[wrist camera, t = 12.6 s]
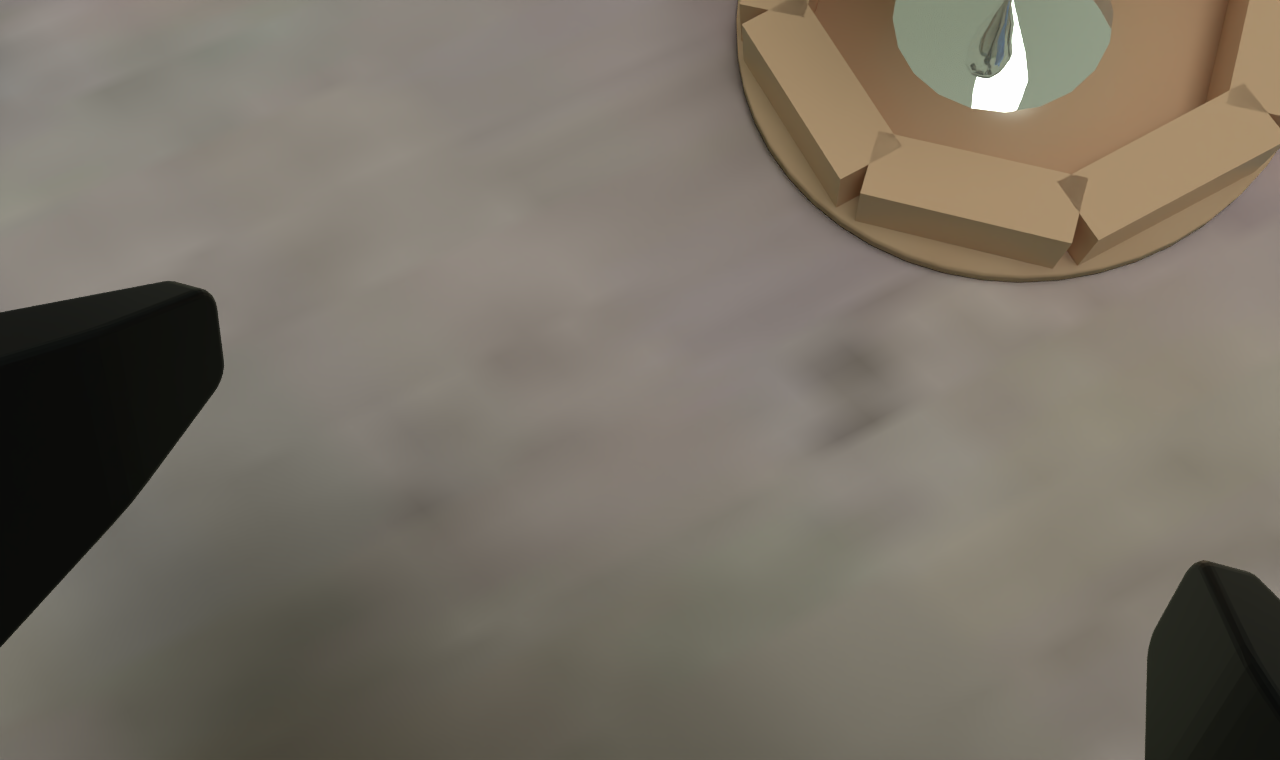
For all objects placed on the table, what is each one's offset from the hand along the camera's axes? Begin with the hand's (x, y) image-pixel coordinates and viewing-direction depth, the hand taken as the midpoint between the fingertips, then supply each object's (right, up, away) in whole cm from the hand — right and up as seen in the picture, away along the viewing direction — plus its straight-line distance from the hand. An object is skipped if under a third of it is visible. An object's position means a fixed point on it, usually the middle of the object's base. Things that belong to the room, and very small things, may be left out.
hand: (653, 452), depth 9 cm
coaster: (+9, +9, +15) cm, 20 cm away
